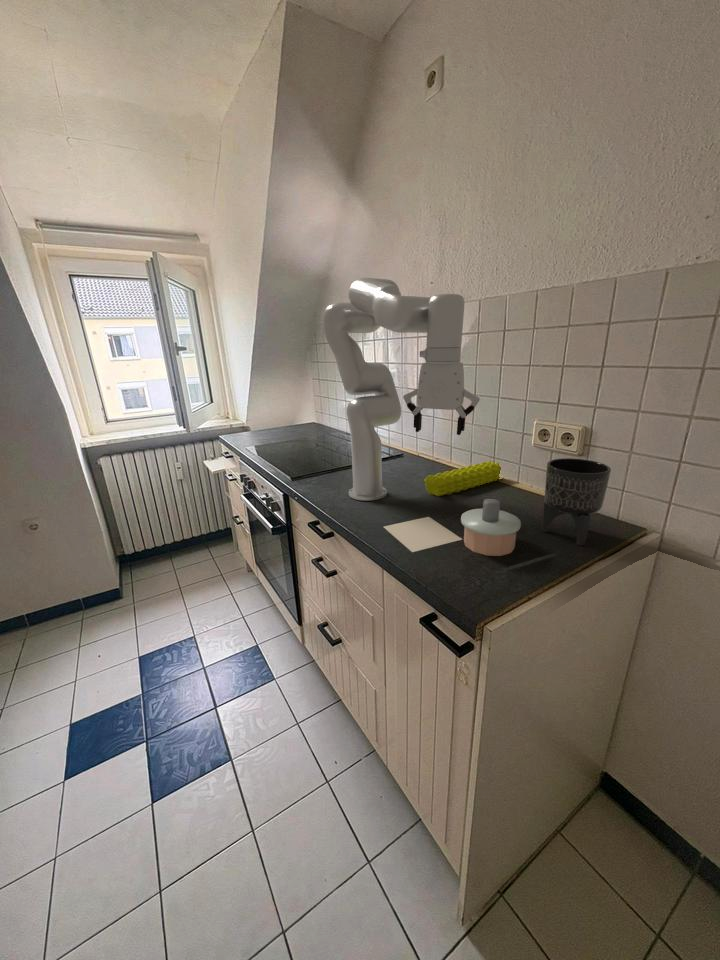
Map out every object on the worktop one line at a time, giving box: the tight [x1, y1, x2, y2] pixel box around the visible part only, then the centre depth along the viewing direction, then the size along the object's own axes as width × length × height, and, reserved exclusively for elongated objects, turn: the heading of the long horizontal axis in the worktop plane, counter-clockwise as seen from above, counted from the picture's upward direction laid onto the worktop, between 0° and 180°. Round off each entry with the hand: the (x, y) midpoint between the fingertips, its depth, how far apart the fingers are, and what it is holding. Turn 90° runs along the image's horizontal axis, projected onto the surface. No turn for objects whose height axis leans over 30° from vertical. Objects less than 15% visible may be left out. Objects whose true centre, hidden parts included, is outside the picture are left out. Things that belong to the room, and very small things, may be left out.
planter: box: [541, 457, 612, 546], centre depth 90 cm, size 13×13×18 cm
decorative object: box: [423, 460, 501, 497], centre depth 126 cm, size 7×33×7 cm, turn 122°
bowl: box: [463, 527, 517, 557], centre depth 88 cm, size 11×11×6 cm
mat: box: [383, 516, 464, 553], centre depth 95 cm, size 15×14×1 cm
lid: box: [460, 498, 522, 536], centre depth 86 cm, size 13×13×5 cm
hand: (438, 432), depth 89 cm, fingers open, 9 cm apart
